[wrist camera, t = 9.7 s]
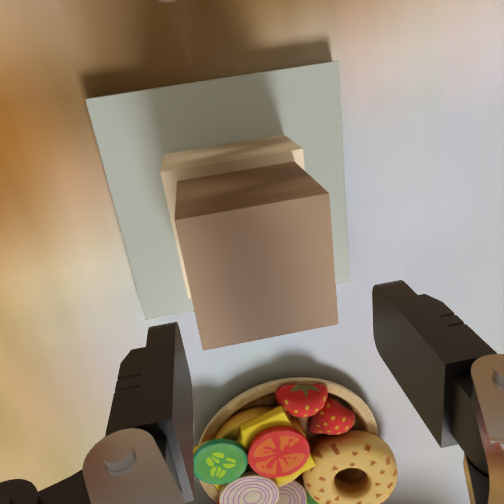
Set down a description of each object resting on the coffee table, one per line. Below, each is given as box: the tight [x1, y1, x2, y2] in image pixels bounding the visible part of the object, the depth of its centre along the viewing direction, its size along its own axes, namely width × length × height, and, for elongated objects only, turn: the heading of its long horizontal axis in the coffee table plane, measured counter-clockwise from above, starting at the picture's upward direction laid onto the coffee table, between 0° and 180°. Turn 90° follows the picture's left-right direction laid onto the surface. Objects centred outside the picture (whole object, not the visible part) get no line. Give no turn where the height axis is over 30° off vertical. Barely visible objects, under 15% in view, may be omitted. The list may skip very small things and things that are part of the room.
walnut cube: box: [174, 161, 338, 350], centre depth 18 cm, size 5×5×5 cm
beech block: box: [160, 135, 305, 299], centre depth 22 cm, size 6×6×4 cm
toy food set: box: [193, 377, 397, 504], centre depth 31 cm, size 13×13×3 cm
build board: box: [85, 61, 350, 320], centre depth 24 cm, size 12×12×1 cm
